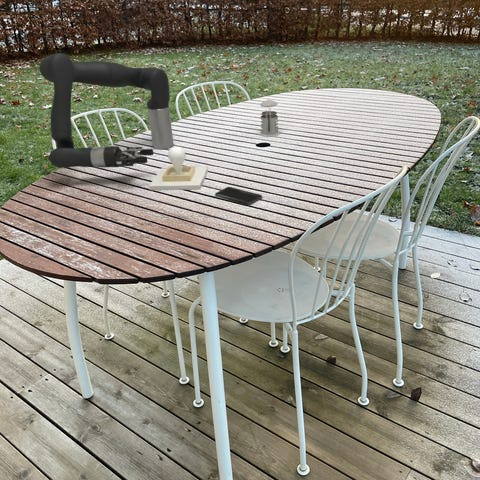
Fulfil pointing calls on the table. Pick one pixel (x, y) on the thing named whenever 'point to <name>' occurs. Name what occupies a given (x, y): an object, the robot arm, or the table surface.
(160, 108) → the robot arm
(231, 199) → the phone
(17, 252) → the table surface
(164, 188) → the lamp base
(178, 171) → the lightbulb
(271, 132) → the french press
